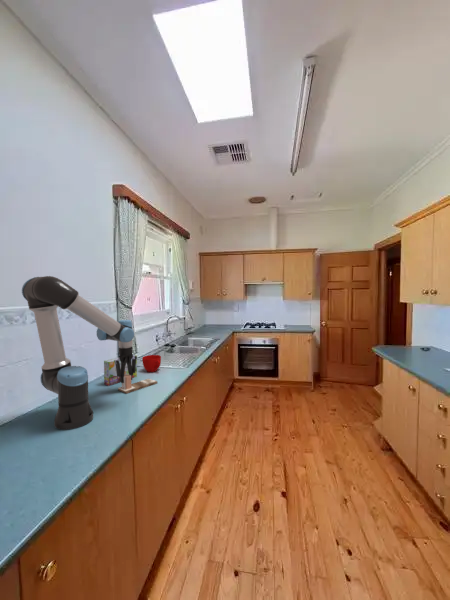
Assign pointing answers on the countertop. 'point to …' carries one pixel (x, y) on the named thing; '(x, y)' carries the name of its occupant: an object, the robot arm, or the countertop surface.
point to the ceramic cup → (151, 362)
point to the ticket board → (140, 385)
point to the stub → (127, 383)
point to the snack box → (114, 371)
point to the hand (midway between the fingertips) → (126, 387)
